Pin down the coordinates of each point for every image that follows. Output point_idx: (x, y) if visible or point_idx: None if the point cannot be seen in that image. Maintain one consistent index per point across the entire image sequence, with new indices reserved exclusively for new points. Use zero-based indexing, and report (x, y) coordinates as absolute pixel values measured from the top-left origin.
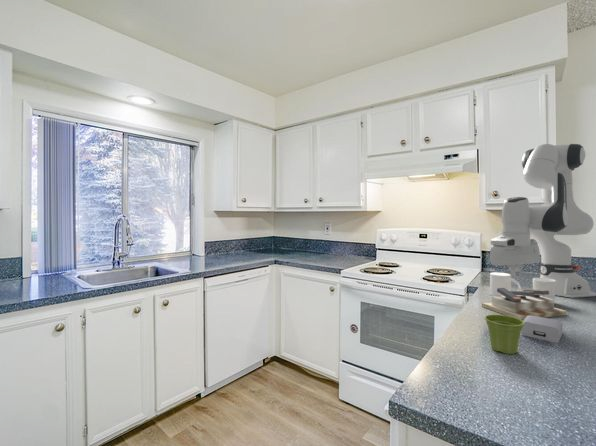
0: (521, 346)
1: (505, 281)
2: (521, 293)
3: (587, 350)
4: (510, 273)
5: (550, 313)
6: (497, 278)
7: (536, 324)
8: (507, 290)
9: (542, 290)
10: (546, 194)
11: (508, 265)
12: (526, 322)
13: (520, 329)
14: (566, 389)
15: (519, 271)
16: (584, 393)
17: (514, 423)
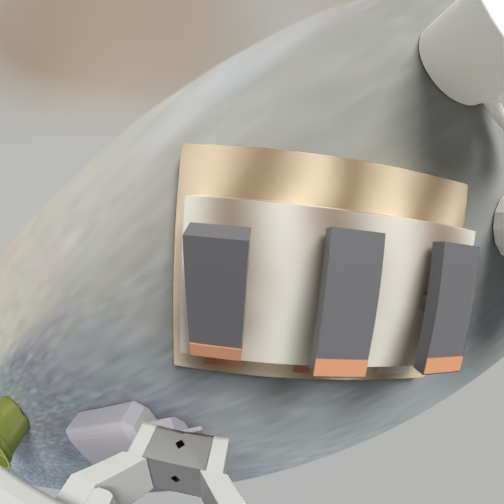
0: (46, 426)
1: (499, 71)
2: (318, 321)
3: (152, 489)
4: (137, 435)
5: (344, 378)
6: (479, 28)
7: (85, 456)
8: (239, 279)
9: (456, 345)
10: None
11: (66, 494)
12: (71, 441)
13: (5, 459)
14: (35, 474)
15: (204, 498)
16: (46, 485)
17: None
